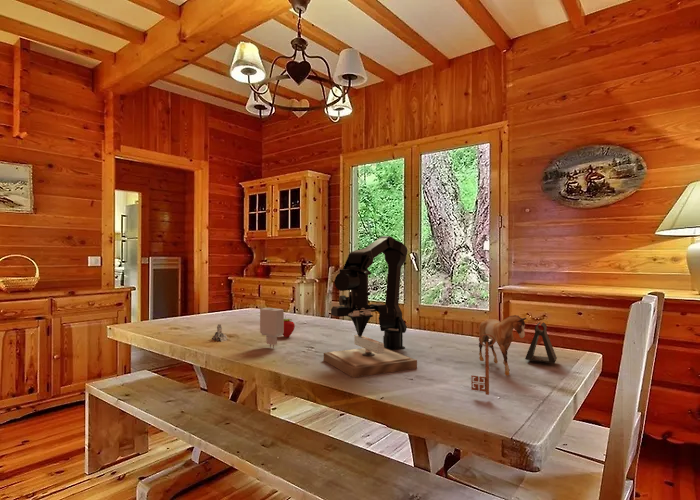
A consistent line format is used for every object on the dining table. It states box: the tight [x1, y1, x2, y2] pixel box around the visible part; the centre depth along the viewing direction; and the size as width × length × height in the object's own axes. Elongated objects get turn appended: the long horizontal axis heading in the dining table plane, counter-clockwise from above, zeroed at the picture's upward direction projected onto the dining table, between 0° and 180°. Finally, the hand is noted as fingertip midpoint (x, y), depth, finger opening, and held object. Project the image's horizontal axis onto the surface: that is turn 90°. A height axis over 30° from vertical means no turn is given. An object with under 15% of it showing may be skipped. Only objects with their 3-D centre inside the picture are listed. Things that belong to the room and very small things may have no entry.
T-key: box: [353, 334, 384, 354], centre depth 132 cm, size 16×2×5 cm, turn 26°
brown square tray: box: [323, 347, 418, 379], centre depth 132 cm, size 22×22×3 cm
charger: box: [259, 307, 285, 349], centre depth 154 cm, size 5×9×15 cm, turn 52°
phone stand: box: [524, 322, 558, 364], centre depth 138 cm, size 9×6×12 cm, turn 58°
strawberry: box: [282, 318, 296, 338], centre depth 174 cm, size 6×8×10 cm
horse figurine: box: [478, 314, 528, 376], centre depth 129 cm, size 26×6×17 cm, turn 5°
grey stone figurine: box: [212, 323, 228, 342], centre depth 168 cm, size 9×9×8 cm
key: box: [470, 334, 496, 396], centre depth 103 cm, size 6×1×15 cm, turn 63°
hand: (359, 335), depth 137 cm, fingers closed
